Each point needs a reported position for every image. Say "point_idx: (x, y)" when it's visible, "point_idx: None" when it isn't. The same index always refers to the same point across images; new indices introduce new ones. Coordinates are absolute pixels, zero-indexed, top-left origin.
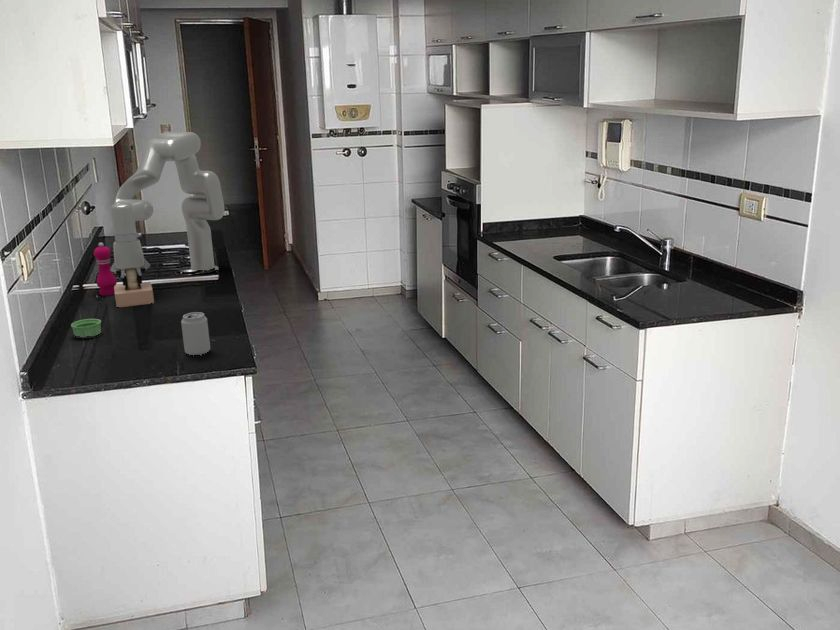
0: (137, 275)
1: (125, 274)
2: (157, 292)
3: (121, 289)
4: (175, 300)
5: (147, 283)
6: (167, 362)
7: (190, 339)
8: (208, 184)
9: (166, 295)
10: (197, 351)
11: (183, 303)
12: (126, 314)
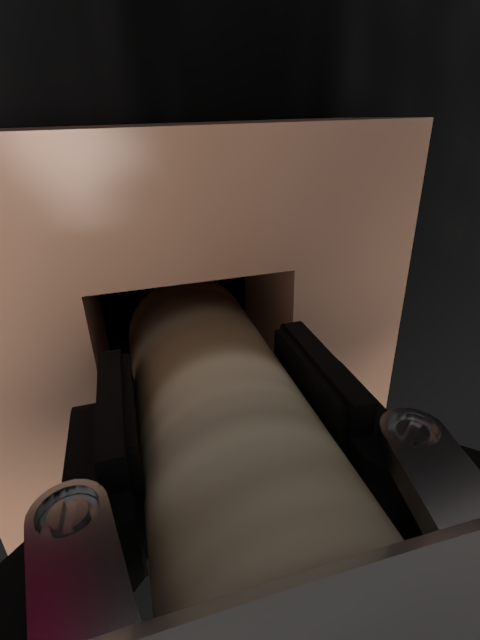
0: (343, 451)
1: (150, 571)
2: (399, 46)
3: (55, 410)
4: (445, 374)
5: (382, 209)
6: None
7: None
8: None
9: (435, 215)
10: None
11: (459, 443)
12: (141, 589)
